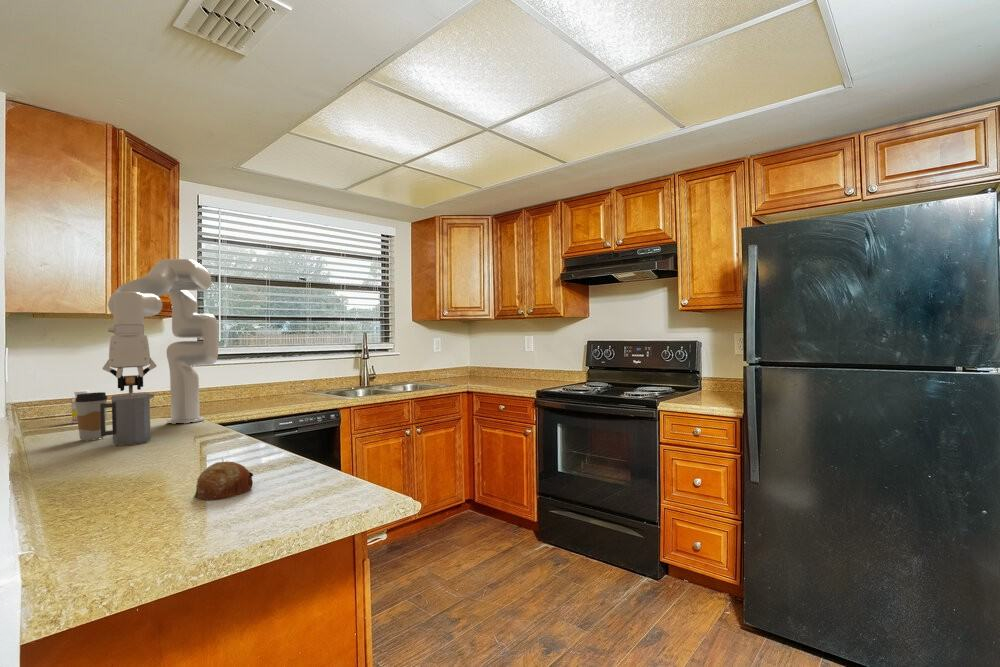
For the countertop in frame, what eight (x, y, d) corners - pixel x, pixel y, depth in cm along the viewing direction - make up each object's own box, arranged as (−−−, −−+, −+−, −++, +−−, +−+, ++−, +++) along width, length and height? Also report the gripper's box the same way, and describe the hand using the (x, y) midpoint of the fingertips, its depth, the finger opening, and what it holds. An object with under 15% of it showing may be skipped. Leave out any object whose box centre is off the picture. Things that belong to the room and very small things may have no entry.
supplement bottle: (89, 420, 212) (88, 389, 212) (96, 421, 209) (95, 390, 209) (69, 423, 206) (68, 391, 207) (76, 424, 203) (75, 392, 203)
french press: (103, 443, 158) (102, 394, 158) (155, 438, 165) (154, 391, 165) (99, 448, 150) (98, 397, 150) (154, 442, 157) (152, 393, 157)
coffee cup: (104, 435, 173) (103, 391, 173) (111, 438, 167) (110, 392, 168) (73, 440, 166) (72, 394, 166) (79, 442, 161) (78, 395, 161)
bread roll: (200, 509, 102) (179, 477, 100) (248, 477, 109) (229, 446, 106) (214, 521, 95) (192, 486, 93) (265, 486, 102) (246, 453, 99)
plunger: (121, 436, 159) (119, 376, 159) (144, 434, 162) (142, 374, 162) (118, 439, 154) (117, 376, 154) (143, 437, 157) (141, 375, 157)
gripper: (93, 331, 151) (95, 393, 150) (160, 330, 159) (162, 388, 159) (97, 332, 157) (98, 391, 157) (161, 331, 166) (163, 387, 166)
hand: (130, 389), depth 158 cm, fingers closed on plunger, 3 cm apart
